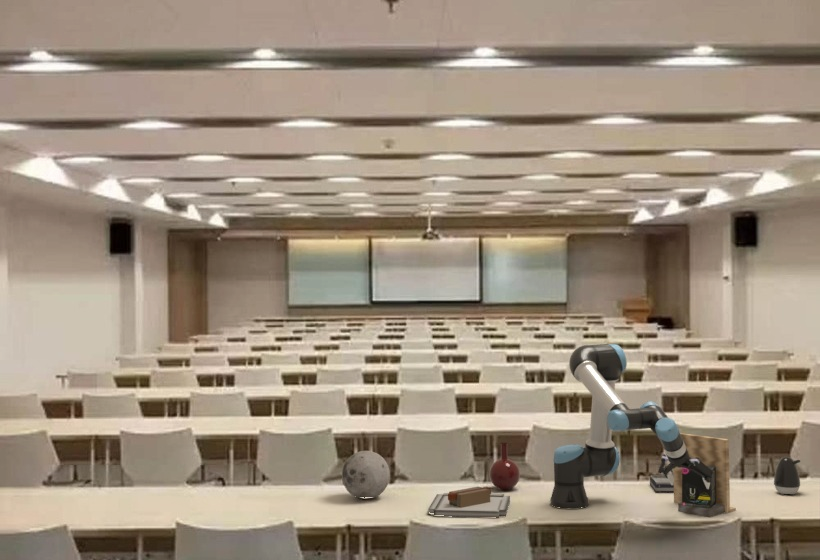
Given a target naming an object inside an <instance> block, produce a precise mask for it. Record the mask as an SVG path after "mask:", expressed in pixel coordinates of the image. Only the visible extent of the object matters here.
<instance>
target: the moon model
mask: <svg viewBox="0 0 820 560" xmlns="http://www.w3.org/2000/svg"><path fill="white" fill-rule="evenodd" d="M390 474H391V473H390V468H389V465H388V463H387V461H386V460H385V458H383V457H382V455H380V454H379V453H377V452H374V451H372V450H361V451H358V452H355V453H354V454H352V455H350V456H349V457H348V458H347V460H346V461H345V463H344V465H343V467H342V471H341V479H342V480H341V481H342V484H343V485H344V488H345V490H346V491H347V492H348V493H349V494H350V495H352V496H353V497H355V496H356V497H355V498H357V497H364V498H365V497H375V498H376V496H377V497H378V496H380V495H381V494H383V492H384V491H385V490H386V489H387V487H388V485H389V482H390V478H391V476H390Z"/></svg>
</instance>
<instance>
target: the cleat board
mask: <svg viewBox="0 0 820 560" xmlns="http://www.w3.org/2000/svg"><path fill="white" fill-rule="evenodd" d="M680 434H681V437H682V439H683V441H684V444H685V446H686V448H687V451H688V453H689V457H690V458H691V459H695V458H696V457H698V458H699V459H700V461H701V462H702V463H704V464H705V465H707V466H716V504H714V505H713V506H712V507H711V508H702V507H693V506H684V505H682V467H681V468H679V467H675V468H674V469H672V471H673V472H672V474H673V475H674V479H675V480H674V493H673V504H677V510H678V512H681V513H682V512H683V513H686V514H687V513H688V514H693V515H698V516H703V517H707V518H711V517H715V516H718V514H719V515H722V514H728V512H729V513H732V512H735V510H737V509H736V507H733V506H731V496H730V493H731V492H730V488H731V487H730V444H729V443H730V439H729V438H723V437H722V438H720V437H712V436H707V435H706V436H705V435H698V434H689V433H684V432H683V433H682V432H680ZM731 511H732V512H731ZM724 512H725V513H724Z"/></svg>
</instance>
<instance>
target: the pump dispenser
mask: <svg viewBox="0 0 820 560" xmlns="http://www.w3.org/2000/svg"><path fill="white" fill-rule="evenodd" d="M798 463H801V460H800V459H796V460H793V458H791V457H789V456H784V457H782V458H780V460H779V462H778V463H777V465H776V467H775V472H774V477H773V485H774V488H775V490H776V491H777V492H778V493H779V494H781V495H784V494H793V495H795V494H797V493H798V491H799V489H800V487H801V480H800V474H799V471H798V468H797V465H796V464H798Z"/></svg>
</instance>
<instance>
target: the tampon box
mask: <svg viewBox="0 0 820 560" xmlns="http://www.w3.org/2000/svg"><path fill="white" fill-rule="evenodd" d="M706 466H707V465H706ZM689 467H690V465H689ZM707 467H708V468H709V469H710V470H712V471H713V475H712V478H710V486H709V489H707V488H706V486H705V484H704V481H703V477H702V476H700V475H699V474H697V473H695V472H694V471H692V470H688V469H687V468H682V505H684V506H693V507H702V508H711V507H712V506H713V505H714V504H716V466H707Z"/></svg>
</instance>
